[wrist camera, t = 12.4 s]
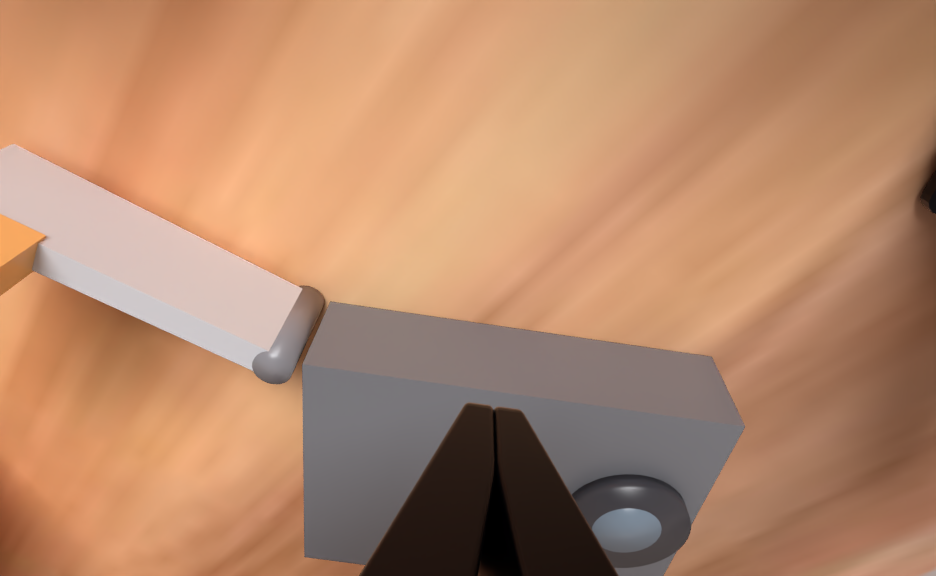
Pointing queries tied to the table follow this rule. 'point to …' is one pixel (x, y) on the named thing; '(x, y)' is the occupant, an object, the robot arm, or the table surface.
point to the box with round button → (513, 386)
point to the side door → (148, 267)
